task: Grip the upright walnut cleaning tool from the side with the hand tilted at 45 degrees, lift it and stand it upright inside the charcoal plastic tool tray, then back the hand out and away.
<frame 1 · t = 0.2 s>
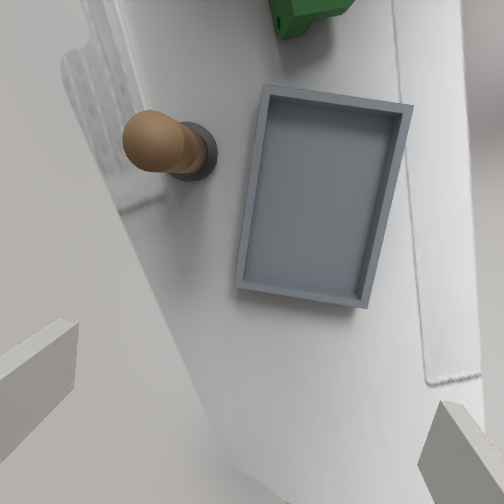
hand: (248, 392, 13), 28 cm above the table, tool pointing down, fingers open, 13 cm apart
tray: (314, 200, 38), on the table
tool: (189, 152, 38), on the table
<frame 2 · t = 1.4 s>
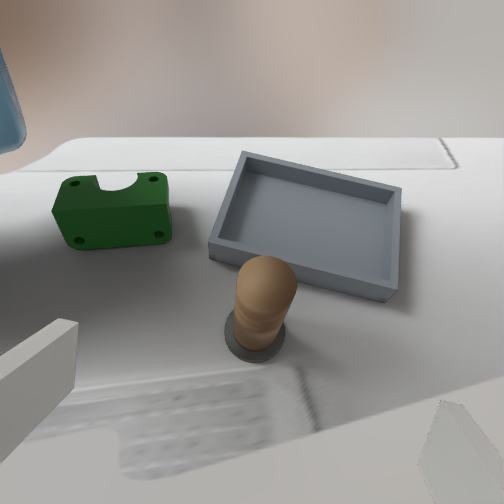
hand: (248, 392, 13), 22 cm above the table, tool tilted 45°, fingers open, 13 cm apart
tray: (305, 230, 43), on the table
tool: (254, 332, 36), on the table
clamp: (125, 224, 42), on the table
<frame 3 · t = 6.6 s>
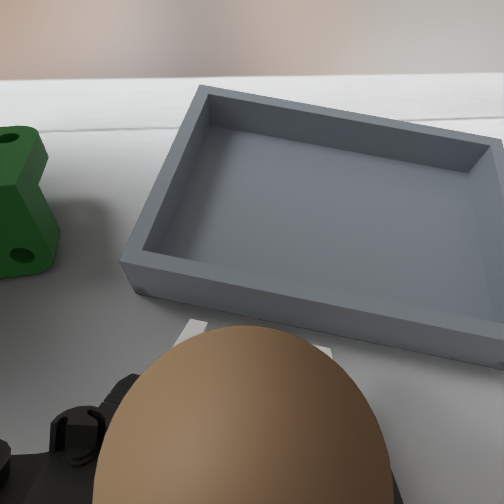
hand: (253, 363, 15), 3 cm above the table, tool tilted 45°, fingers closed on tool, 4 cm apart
tray: (325, 226, 23), on the table
tool: (231, 467, 16), on the table, touching gripper
when the fingers open (6 cm above the table, at t = 11.7 s): tool drops 1 cm, resting on tray.
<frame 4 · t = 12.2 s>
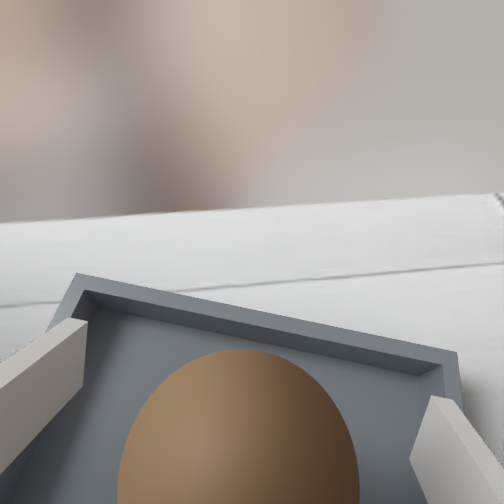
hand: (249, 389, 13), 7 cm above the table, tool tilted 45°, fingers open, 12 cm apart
tray: (231, 467, 18), on the table
tool: (230, 469, 17), point 1 cm above the table, touching tray
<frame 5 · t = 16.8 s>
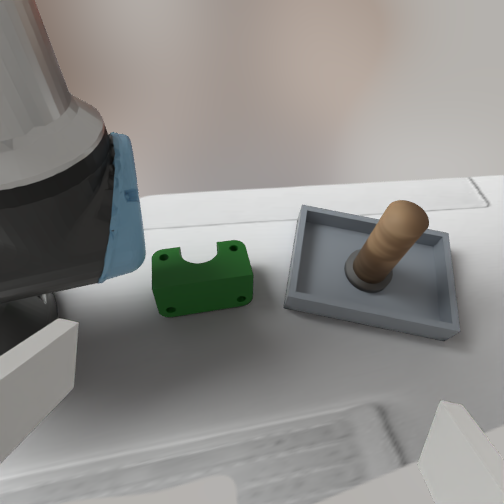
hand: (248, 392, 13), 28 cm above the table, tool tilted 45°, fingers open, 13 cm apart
tray: (364, 275, 48), on the table
tool: (366, 272, 47), point 1 cm above the table, touching tray
clamp: (203, 287, 45), on the table
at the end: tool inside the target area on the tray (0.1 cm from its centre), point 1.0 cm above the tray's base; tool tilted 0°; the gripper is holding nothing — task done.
